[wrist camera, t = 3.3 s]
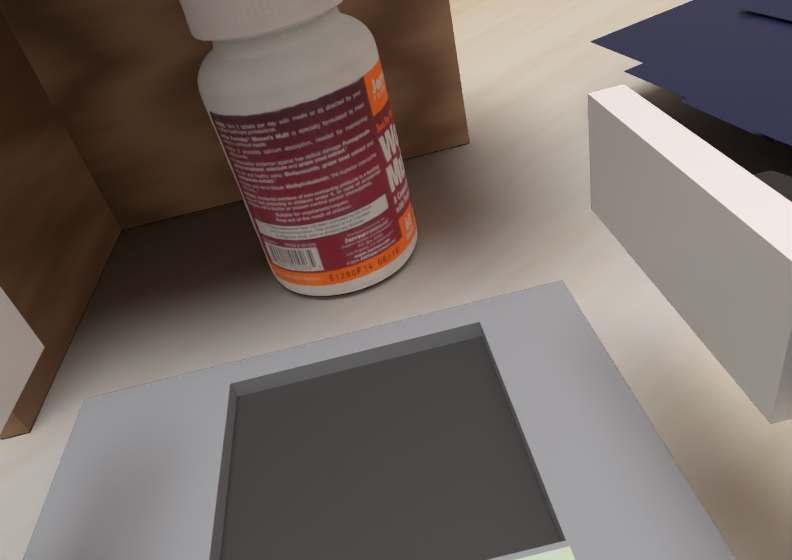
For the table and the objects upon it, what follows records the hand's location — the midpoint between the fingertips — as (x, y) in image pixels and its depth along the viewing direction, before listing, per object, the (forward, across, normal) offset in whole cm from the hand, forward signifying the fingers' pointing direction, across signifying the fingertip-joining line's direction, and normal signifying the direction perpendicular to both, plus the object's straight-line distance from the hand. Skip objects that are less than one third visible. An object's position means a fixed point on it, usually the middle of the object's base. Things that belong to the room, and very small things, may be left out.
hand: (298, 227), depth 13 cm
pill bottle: (+10, 0, -7) cm, 12 cm away
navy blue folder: (+6, +28, -8) cm, 30 cm away
